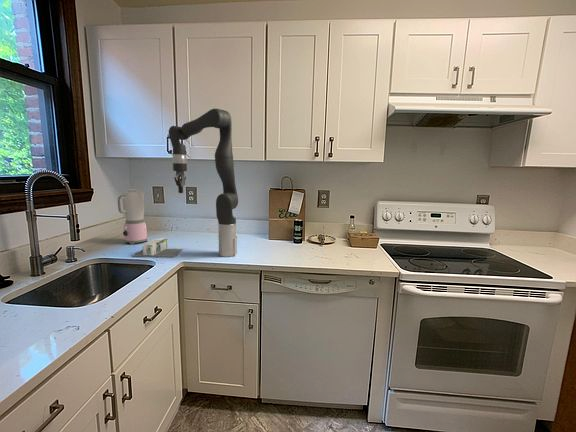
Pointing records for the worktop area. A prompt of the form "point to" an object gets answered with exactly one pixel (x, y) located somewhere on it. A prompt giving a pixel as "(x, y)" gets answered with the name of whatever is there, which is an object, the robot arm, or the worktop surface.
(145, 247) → the syrup box
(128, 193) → the blender
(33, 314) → the worktop surface
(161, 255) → the slate mat
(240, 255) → the worktop surface
